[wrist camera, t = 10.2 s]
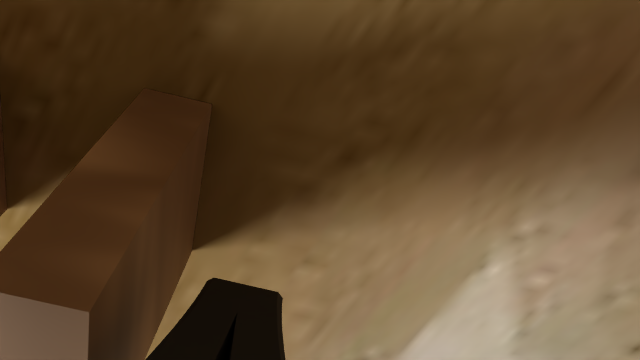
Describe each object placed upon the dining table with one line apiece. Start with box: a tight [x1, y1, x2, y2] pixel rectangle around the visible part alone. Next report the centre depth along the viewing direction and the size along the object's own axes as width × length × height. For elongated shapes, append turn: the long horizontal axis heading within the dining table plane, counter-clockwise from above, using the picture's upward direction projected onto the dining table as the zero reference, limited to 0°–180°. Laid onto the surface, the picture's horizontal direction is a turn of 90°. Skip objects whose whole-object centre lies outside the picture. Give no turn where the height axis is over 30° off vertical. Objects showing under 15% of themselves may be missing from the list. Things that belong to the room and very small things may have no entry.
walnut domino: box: [0, 88, 212, 360], centre depth 12 cm, size 2×4×7 cm, turn 168°
